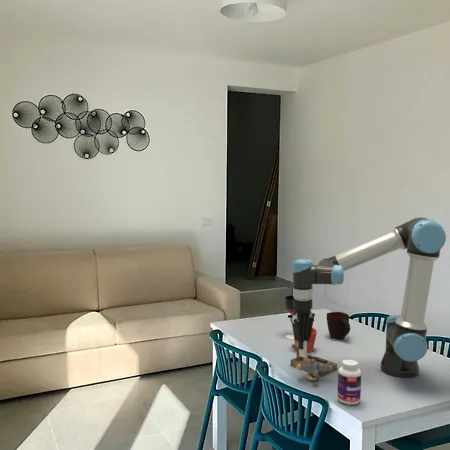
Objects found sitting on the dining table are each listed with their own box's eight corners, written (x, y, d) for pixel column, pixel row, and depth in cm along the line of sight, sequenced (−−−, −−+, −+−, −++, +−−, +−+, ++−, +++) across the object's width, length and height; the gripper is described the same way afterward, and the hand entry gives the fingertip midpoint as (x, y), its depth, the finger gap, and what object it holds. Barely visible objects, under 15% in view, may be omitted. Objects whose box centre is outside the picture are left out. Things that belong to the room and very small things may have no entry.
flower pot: (316, 355, 229) (316, 334, 228) (291, 353, 231) (292, 332, 230) (316, 347, 239) (317, 327, 238) (293, 345, 241) (293, 325, 240)
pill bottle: (346, 407, 177) (347, 368, 176) (332, 398, 185) (333, 360, 183) (365, 403, 181) (366, 364, 179) (351, 394, 188) (352, 357, 187)
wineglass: (304, 337, 253) (305, 298, 251) (291, 340, 249) (292, 300, 246) (294, 333, 260) (294, 294, 258) (281, 336, 255) (281, 297, 253)
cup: (339, 334, 259) (340, 311, 258) (356, 342, 246) (357, 318, 245) (323, 336, 255) (323, 313, 254) (339, 345, 242) (339, 320, 241)
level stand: (337, 369, 212) (337, 348, 211) (321, 376, 204) (321, 355, 204) (306, 359, 224) (307, 339, 223) (290, 365, 216) (290, 345, 215)
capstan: (330, 372, 208) (331, 357, 207) (334, 387, 194) (335, 370, 193) (295, 370, 209) (295, 355, 208) (296, 385, 195) (297, 369, 194)
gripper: (305, 294, 208) (305, 350, 210) (284, 300, 199) (285, 358, 201) (320, 297, 202) (320, 354, 204) (299, 303, 193) (300, 363, 196)
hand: (302, 356), depth 203 cm, fingers closed
